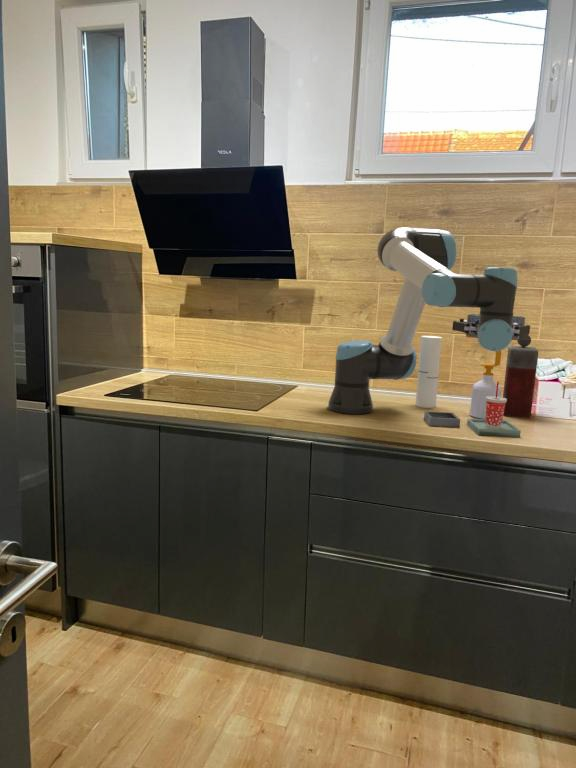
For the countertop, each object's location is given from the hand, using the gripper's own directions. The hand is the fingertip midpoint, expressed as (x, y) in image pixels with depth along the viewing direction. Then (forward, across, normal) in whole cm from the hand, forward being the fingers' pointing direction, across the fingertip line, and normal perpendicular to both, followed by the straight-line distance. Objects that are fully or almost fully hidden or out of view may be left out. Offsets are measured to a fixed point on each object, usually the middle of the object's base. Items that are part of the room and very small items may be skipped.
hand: (489, 325), depth 165 cm
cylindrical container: (+31, -18, -32) cm, 48 cm away
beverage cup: (+4, +4, -31) cm, 32 cm away
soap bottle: (+23, +2, -32) cm, 40 cm away
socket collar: (+7, -11, -32) cm, 35 cm away
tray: (+4, +4, -32) cm, 33 cm away
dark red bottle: (+33, +13, -32) cm, 48 cm away
